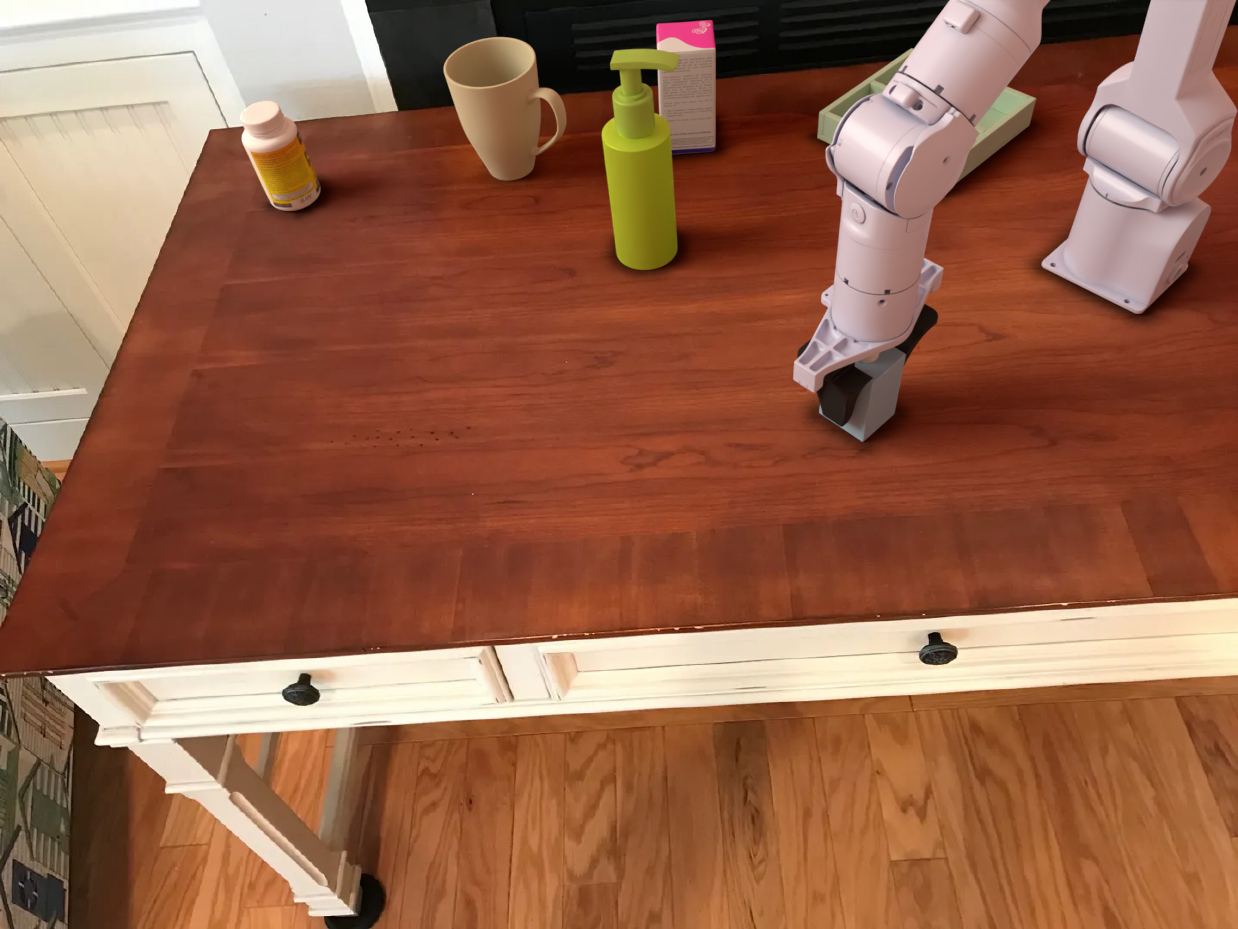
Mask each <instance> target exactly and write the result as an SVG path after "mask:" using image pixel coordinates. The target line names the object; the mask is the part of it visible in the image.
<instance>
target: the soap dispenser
mask: <svg viewBox="0 0 1238 929" xmlns="http://www.w3.org/2000/svg"><path fill="white" fill-rule="evenodd" d="M679 58H680V55H678V54H675V53H671V52H667V51H662V50H657V49H656V48H655V49H654V48H631V49H629V48H628V49H619V50H614V51H613V54H612V57H611V60H610V63H609V66H610V68H609V69H610V70H611V71H616V70H617V71H619V77H620V78H619V79H620V85H619V86H617V87H616V88H615V89H614V91H613V92H612V95H611V96H612V97H611V99H612V100H611V101H612V108H613V118H610V120H608V121H607V122H606V123H605V125H604V126H603V127H602V130H601V141H602V149H603V150H602V151H603V157H604V166H605V172H606V181H607V188H608V197H609V198H608V199H609V205H610V213H611V220H612V221H611V222H612V228H613V237H614V244H615V245H614V246H615V254H616V257H617V259H618V260H619V262H620V263H621V264H622V265H623V266H626V267H628V268H630V269H633V270H637V271H651V270H656V269H659V268H662V267H664V266H666V265H668V264H669V263H670V262H671V261H673V259H674V258H675V256H676V255H677V254H678V232H677V218H676V217H677V215H676V201H675V198H676V197H675V185H674V183H675V182H674V167H673V155H672V149H671V133H670V125H669V123H668V121H667V120H666V119H665V118H664V117H662V116H661V115H659V113H656V112H655V104H654V92H653V89H652V88H651V86H649V85H648V84H647V83H643V82H642V81H643V80H642V71H641V70H657V71H658V70H663V71H668V72H673V71H674V70H675V69H676V68H677V65H678V61H679Z"/></svg>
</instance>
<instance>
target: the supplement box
mask: <svg viewBox="0 0 1238 929" xmlns="http://www.w3.org/2000/svg"><path fill="white" fill-rule="evenodd" d="M655 31H656V32H655V33H656V50H662V51H667V52H671V53H675V54H678V55H680V58H679V61H678V65H677V68H676V69H675V70H674V71H673V72H668V71H663V70H657V86H658V88H657V89H658V91H657V92H658V114H659V115H661V116H662V117H664V118H665V119H666V120H667V121H668V123H669V125H670V133H671V149H672V156H673V155H684V154H700V153H711V152H715V151H716V133H717V132H716V127H717V126H716V124H717V122H716V120H717V118H716V113H717V112H716V110H717V109H716V107H717V106H716V101H717V97H716V96H717V95H716V94H717V93H716V91H717V90H716V89H717V88H716V85H717V83H716V78H717V77H716V76H717V72H716V67H717V66H716V64H717V63H716V62H717V61H716V60H717V59H716V58H717V56H716V55H717V54H716V48H717V47H716V39H715V30H714V21H713V20H711V19H708V20H694V21H682V22H662V23H660V22H659V23H657V24H656V29H655Z"/></svg>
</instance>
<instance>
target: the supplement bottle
mask: <svg viewBox="0 0 1238 929" xmlns="http://www.w3.org/2000/svg"><path fill="white" fill-rule="evenodd" d="M281 109H282V108H281V107H280V105H279V104H278V103H277V102H275V101H271V100H262V101H256V102H254V103H251V104H250V105H248V106H247V107H245V108H244V109H243V110H242V111H241V113H240V122H241V123H242V126H243V132H242V134H241V143H242V145H243V148H244V150H245V152H246V154H247V156H248V158H249V160H250V163H251V166H252V167H253V169H254V171H255V173H256V174H255V175H256V176H257V178H258V180H259V183H260V184H261V187H262V188H263V191H264V193H265V195H266V196H267V199H268V201H269V203H270V204H271V205H272V207H274V208H275V209H277V210H280V211H283V212H284V211H285V212H295V211H299V210H303V209H305V208H306V207H308V206H311V205H312V204H313V203H314V202H316V200H318V198H319V196H320V194H321V189H322V188H321V184H320V183H321V182H320V181H319V179H318V178H319V177H318V176H317V173H316V171H315V169H314V166H313V164H312V161H311V159H310V156H309V154H308V151H307V149H306V146H305V144H304V141H303V139H302V137H301V134H300V132H299V130H298V127H297V125H296V123H295V121H293V120H292V119H291V118H289V117H287V116H285V115H284V112H283V111H282V110H281Z"/></svg>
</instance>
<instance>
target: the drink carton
mask: <svg viewBox="0 0 1238 929" xmlns="http://www.w3.org/2000/svg"><path fill="white" fill-rule="evenodd" d="M905 357H906V354H905V353H903V352H902V351H900V350H898V349H896V348H895V347H893V348H890V349H888V350H885V351H883V352H880V353H877V354H875V355H872V356H870V357H867V358H865V359H862V360H860V361H857V362H855V367H857V368H858V369H860V370H861V371H863V372H865V373H866V374H868V375H869V376H871V377H873V379H872V380H871V381H869V382H868V383H867V384H866V385H865V386H864V388H863V389H862V391H861V392H860V394H859V396H858V398H857V400H856V403H855V407H854V410H853V414H852V416H851V418H850V420H849V421H848V423H846V424H845V425H844V426H843V427H840V426H839V425H837V424H836V423H834V422H833V421H831V420H830V419H828V418H827V417H825V416H824V415H823V413H822V409H821V406H820V405H819V408H818V409H819V410H818V414H820V415H821V416H822V417H823V418H826V419H827V420H829V421H830V422H832V423H833V424H835V425H836V426H837V427H839V428H840V429H842V430H844V431H845V432H847V433H848V434H850V435H851V436H852V437H854V438H856V440H859V441H860V442H862V443H864V442H865V441H866V440H868V439H869V437H871V436H872V435H873V434H874V433H875V432H876V431H877V430H878V429H879V428H880V427H882V426H883V425H884V424H885V423H886V422H888V420H889V419H891V418H892V417H893V416H894V415H895V413H896V408H897V403H898V397H899V392H900V387H901V382H902V378H903V373H904V367H905V365H904V362H905Z"/></svg>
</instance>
